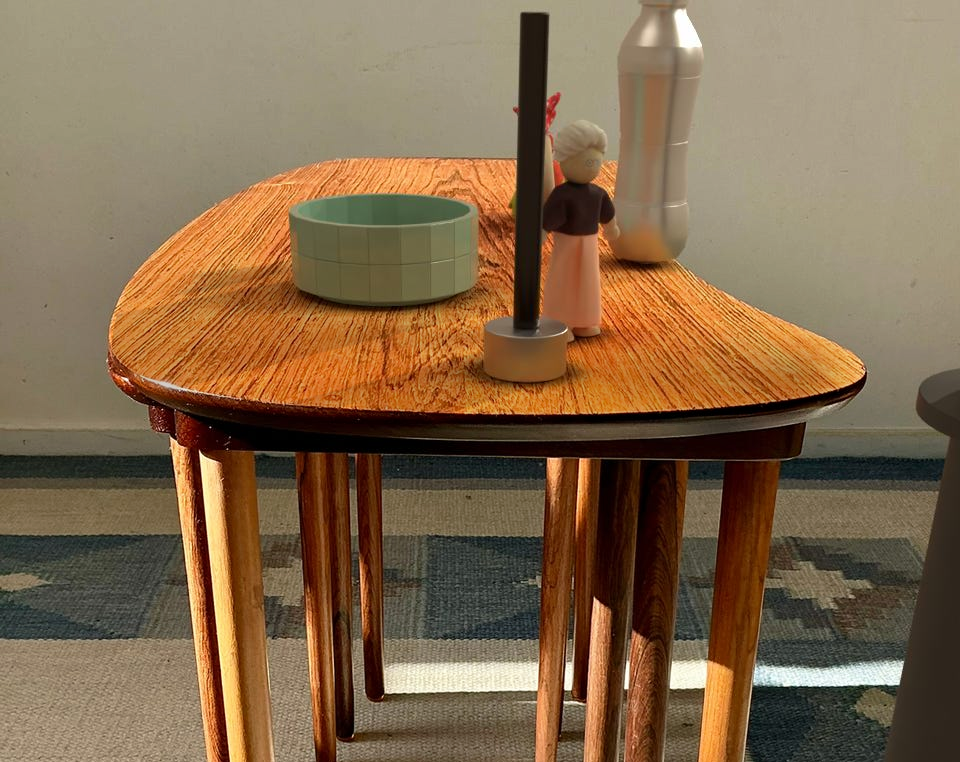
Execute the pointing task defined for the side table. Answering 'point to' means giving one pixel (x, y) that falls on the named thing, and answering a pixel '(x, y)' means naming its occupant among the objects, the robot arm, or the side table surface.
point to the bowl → (384, 248)
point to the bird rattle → (547, 155)
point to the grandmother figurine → (577, 230)
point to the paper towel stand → (528, 231)
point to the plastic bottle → (655, 131)
